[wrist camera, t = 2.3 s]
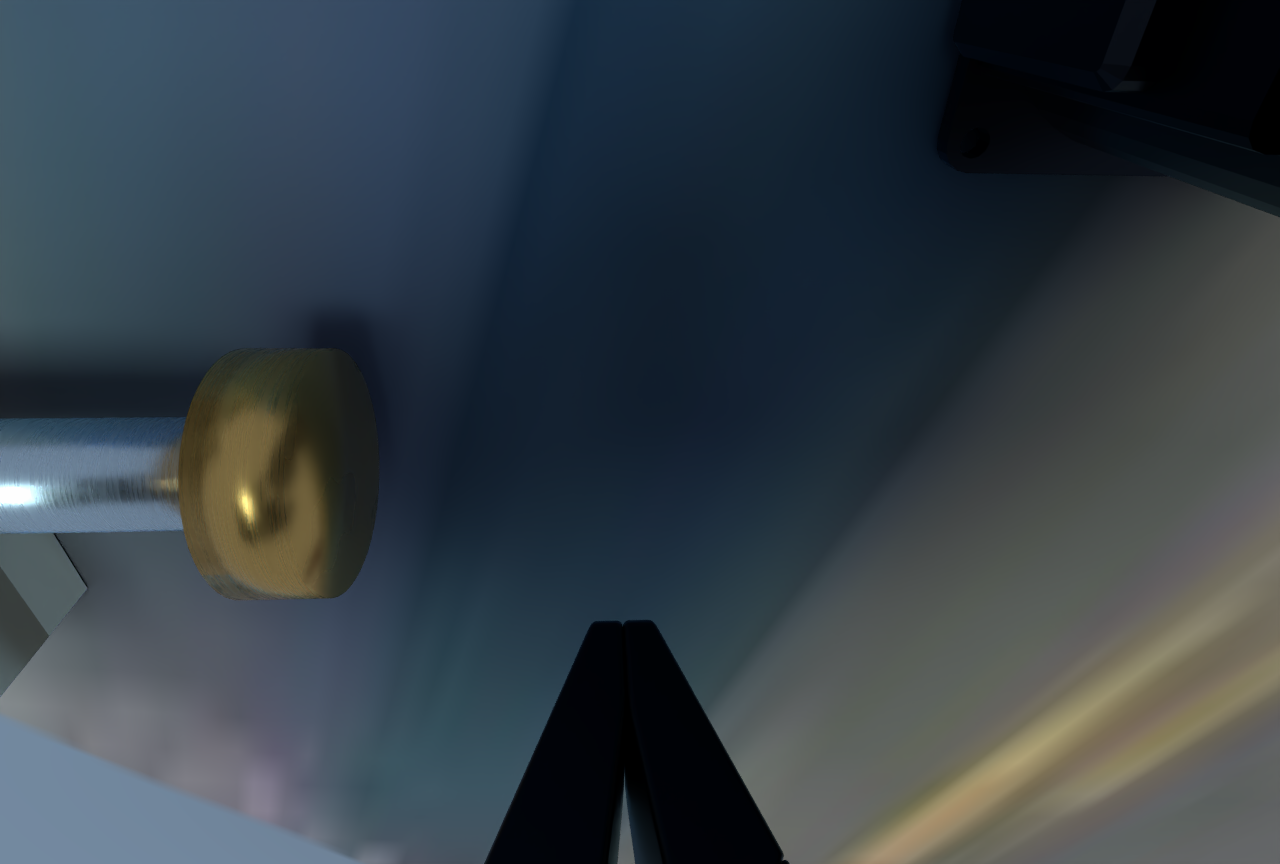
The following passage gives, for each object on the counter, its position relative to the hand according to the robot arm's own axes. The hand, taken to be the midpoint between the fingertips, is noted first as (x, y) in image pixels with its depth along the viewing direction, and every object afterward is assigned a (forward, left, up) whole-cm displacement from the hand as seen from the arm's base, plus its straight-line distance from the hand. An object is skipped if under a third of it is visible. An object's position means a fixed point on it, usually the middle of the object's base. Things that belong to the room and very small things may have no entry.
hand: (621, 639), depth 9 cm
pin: (+11, 0, -6) cm, 12 cm away
